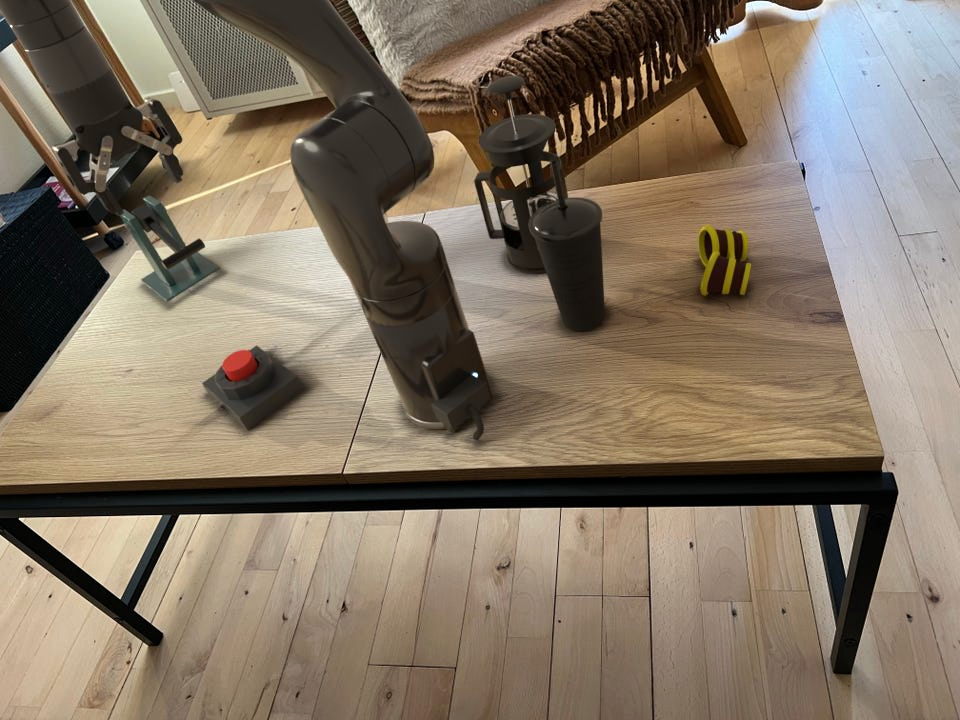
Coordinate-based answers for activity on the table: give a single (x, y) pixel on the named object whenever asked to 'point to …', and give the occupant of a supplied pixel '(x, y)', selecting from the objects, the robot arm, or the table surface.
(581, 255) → the drinking cup
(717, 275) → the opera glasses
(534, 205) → the french press
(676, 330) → the table surface
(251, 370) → the button
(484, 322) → the table surface
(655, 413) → the table surface
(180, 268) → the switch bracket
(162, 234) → the lever
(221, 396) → the button box
